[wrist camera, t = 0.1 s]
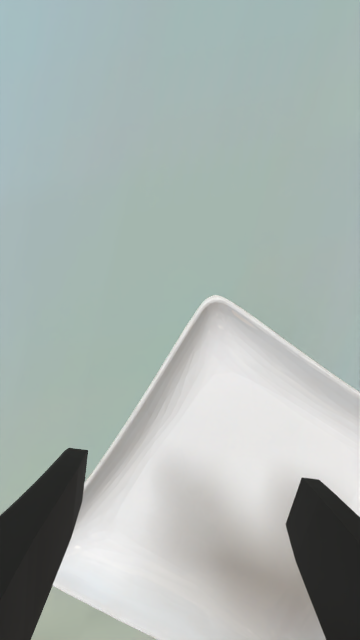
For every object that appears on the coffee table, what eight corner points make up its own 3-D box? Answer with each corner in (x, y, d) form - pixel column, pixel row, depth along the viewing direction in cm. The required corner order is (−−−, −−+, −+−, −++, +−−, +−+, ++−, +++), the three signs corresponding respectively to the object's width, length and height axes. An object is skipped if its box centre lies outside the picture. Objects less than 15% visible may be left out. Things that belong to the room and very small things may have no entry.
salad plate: (274, 653, 23) (294, 717, 19) (42, 531, 21) (18, 578, 17) (428, 439, 22) (478, 466, 18) (202, 287, 20) (210, 286, 16)
